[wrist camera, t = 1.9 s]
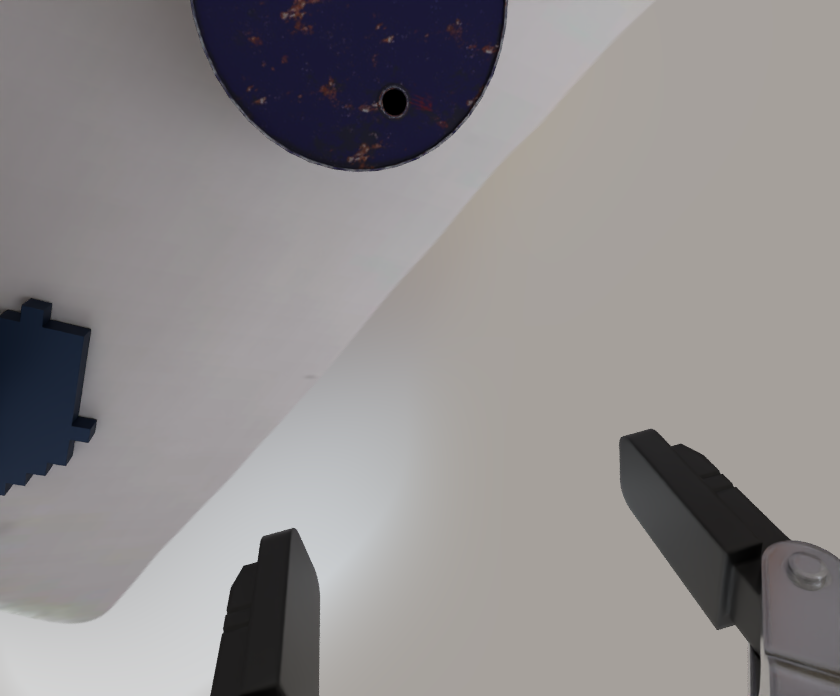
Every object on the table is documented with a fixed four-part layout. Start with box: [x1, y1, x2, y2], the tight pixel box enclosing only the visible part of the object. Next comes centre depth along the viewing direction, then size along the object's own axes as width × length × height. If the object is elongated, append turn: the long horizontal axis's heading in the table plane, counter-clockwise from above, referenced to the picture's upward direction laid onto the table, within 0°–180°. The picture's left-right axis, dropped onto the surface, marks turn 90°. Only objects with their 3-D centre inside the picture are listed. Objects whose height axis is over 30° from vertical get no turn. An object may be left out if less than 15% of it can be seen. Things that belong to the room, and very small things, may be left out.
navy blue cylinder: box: [190, 0, 508, 172], centre depth 22 cm, size 10×10×15 cm
